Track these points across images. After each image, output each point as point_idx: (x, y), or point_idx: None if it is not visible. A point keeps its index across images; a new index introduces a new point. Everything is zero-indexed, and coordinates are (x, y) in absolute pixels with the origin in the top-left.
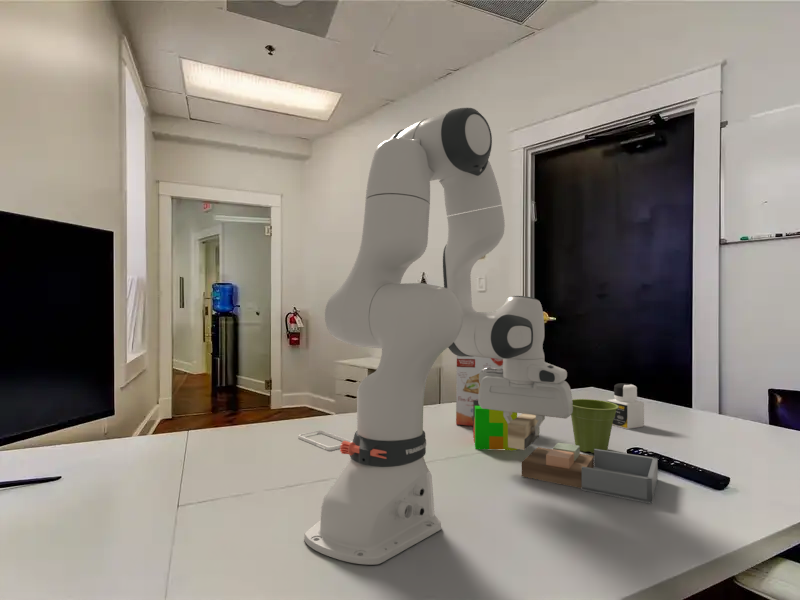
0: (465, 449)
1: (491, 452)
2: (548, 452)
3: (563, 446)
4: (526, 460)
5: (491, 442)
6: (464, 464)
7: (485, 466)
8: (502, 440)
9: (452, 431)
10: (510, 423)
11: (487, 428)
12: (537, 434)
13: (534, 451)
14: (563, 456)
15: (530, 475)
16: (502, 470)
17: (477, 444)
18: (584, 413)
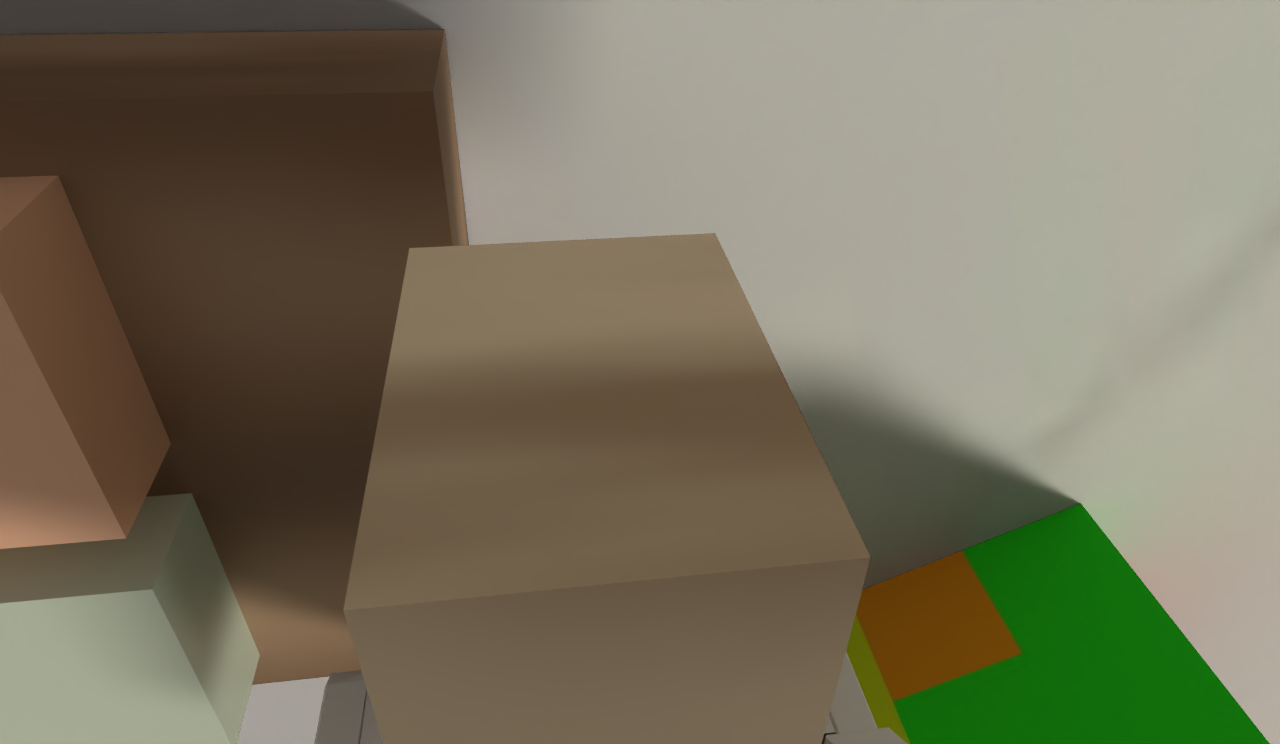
0: (1170, 457)
1: (934, 508)
2: (45, 384)
3: (85, 685)
4: (403, 200)
5: (973, 611)
6: (1185, 60)
7: (938, 133)
8: (885, 666)
9: (1264, 700)
10: (805, 609)
11: (1084, 719)
12: (327, 687)
13: None
14: None
15: (315, 42)
16: (725, 115)
17: (1088, 543)
18: None
